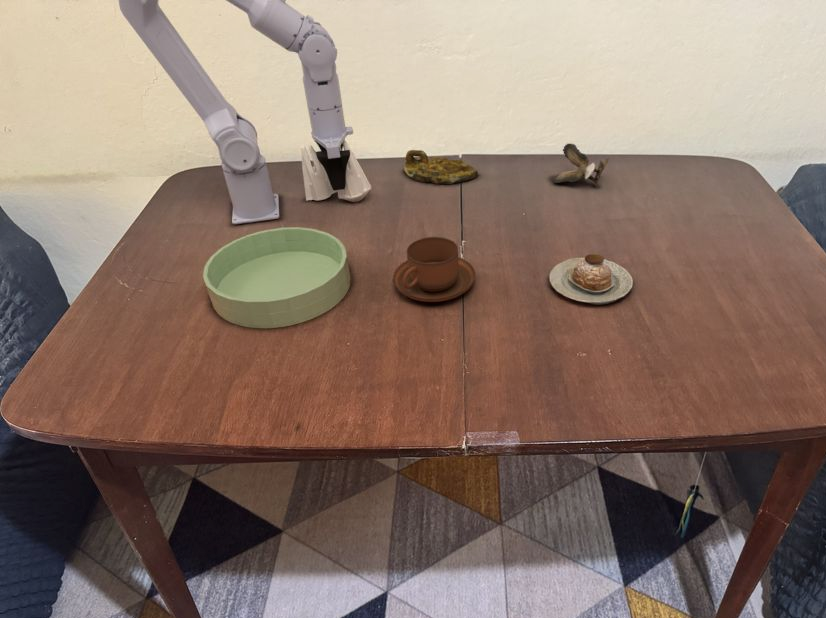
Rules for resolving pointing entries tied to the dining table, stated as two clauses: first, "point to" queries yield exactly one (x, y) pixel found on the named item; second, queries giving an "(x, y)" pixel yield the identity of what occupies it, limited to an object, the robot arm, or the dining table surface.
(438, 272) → the cup and saucer
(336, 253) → the bowl
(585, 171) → the eagle figurine
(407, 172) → the seal
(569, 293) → the pastry
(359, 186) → the shaker set
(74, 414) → the dining table surface
